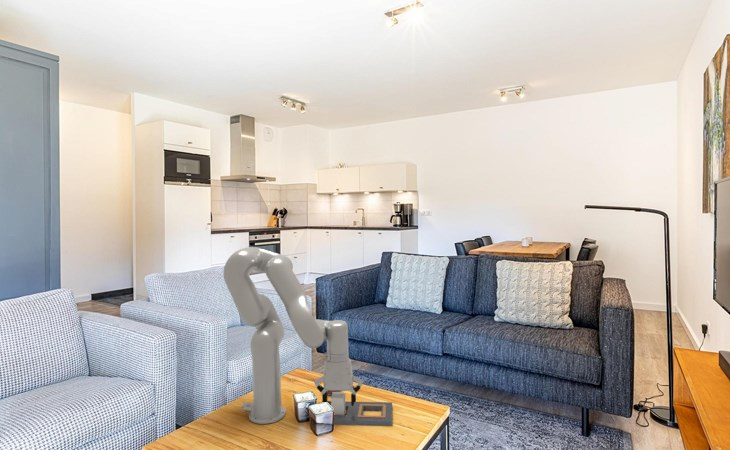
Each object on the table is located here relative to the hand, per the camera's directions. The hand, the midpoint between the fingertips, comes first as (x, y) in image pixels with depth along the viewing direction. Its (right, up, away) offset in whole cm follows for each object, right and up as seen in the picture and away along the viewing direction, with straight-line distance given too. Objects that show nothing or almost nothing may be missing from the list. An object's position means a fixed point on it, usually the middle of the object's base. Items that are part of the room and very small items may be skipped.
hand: (339, 404), depth 147 cm
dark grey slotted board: (+6, -4, 0) cm, 7 cm away
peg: (0, -4, 0) cm, 4 cm away
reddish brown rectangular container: (-3, -4, +18) cm, 19 cm away
